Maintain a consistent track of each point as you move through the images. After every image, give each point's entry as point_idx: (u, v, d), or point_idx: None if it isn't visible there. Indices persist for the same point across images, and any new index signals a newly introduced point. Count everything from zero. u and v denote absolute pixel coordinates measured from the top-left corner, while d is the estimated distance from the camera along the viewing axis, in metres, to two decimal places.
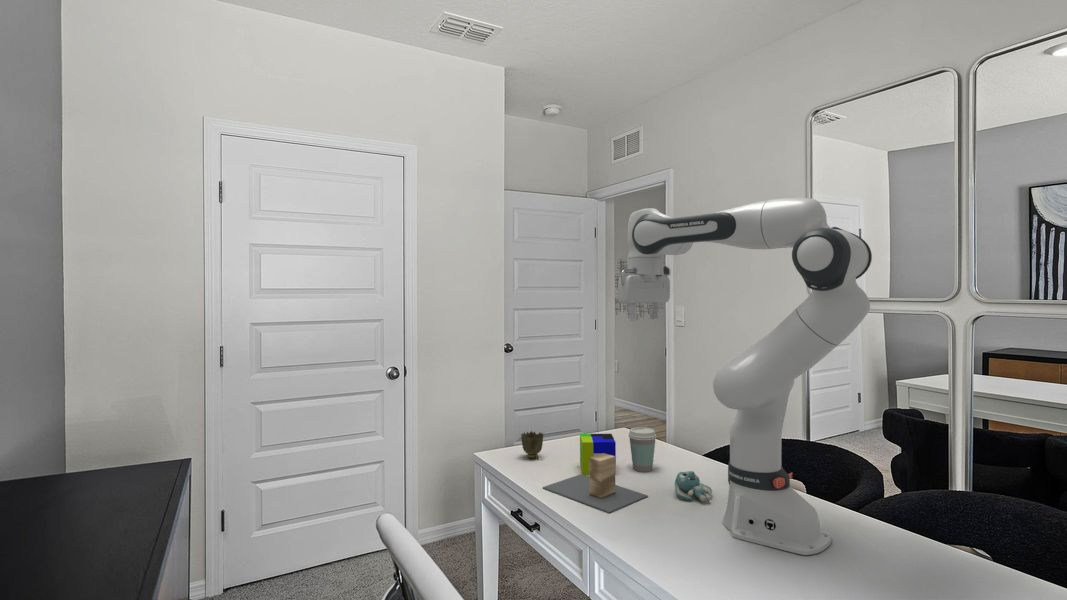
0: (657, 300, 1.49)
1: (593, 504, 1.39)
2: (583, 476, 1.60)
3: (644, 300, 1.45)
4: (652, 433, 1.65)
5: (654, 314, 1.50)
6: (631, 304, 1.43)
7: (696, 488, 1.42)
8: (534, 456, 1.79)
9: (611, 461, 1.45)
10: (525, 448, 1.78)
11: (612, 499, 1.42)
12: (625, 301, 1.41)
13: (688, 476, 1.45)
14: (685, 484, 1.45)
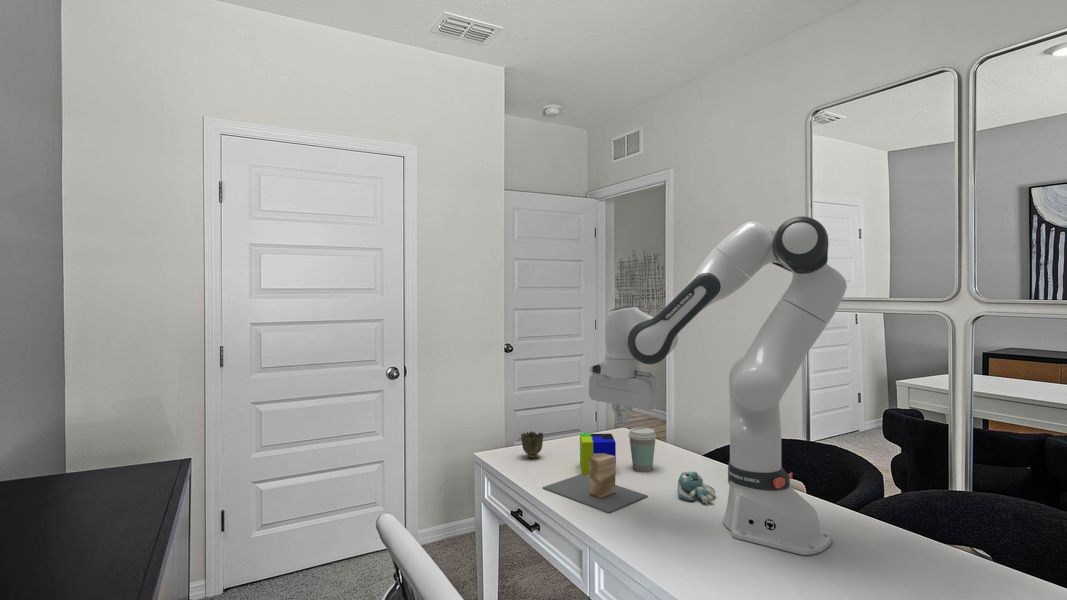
0: None
1: (593, 504, 1.39)
2: (583, 476, 1.60)
3: None
4: (652, 433, 1.65)
5: None
6: (630, 406, 1.39)
7: (698, 489, 1.42)
8: (534, 456, 1.79)
9: (611, 461, 1.45)
10: (525, 448, 1.78)
11: (612, 499, 1.42)
12: (655, 407, 1.34)
13: (691, 476, 1.45)
14: (688, 484, 1.44)
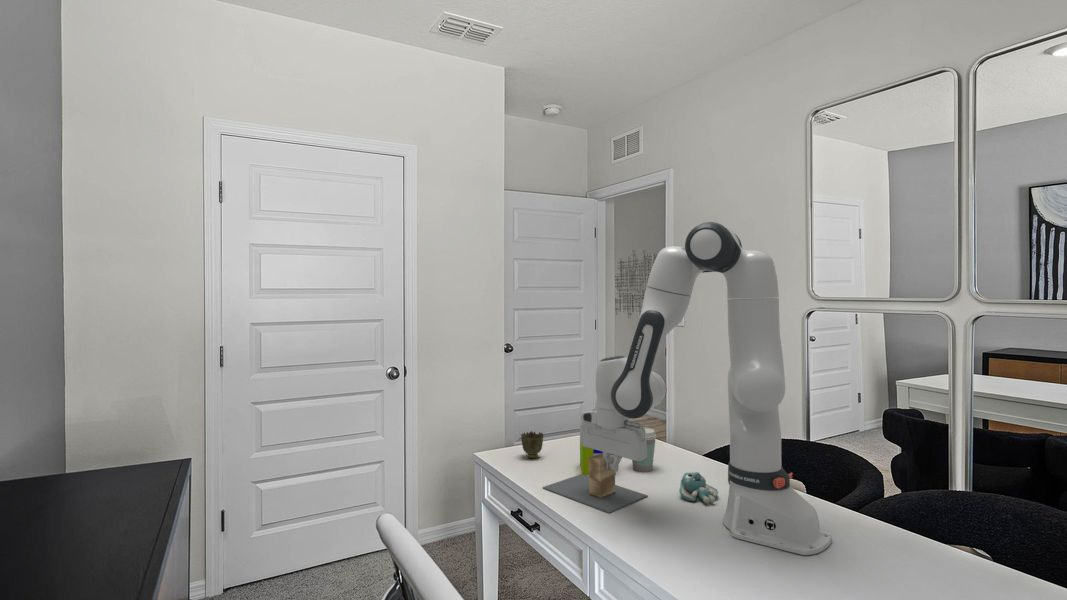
0: None
1: (593, 504, 1.39)
2: (583, 476, 1.60)
3: None
4: (652, 433, 1.65)
5: None
6: None
7: (700, 489, 1.42)
8: (534, 456, 1.79)
9: None
10: (525, 448, 1.78)
11: (612, 499, 1.42)
12: (645, 457, 1.36)
13: (693, 477, 1.44)
14: (690, 485, 1.44)
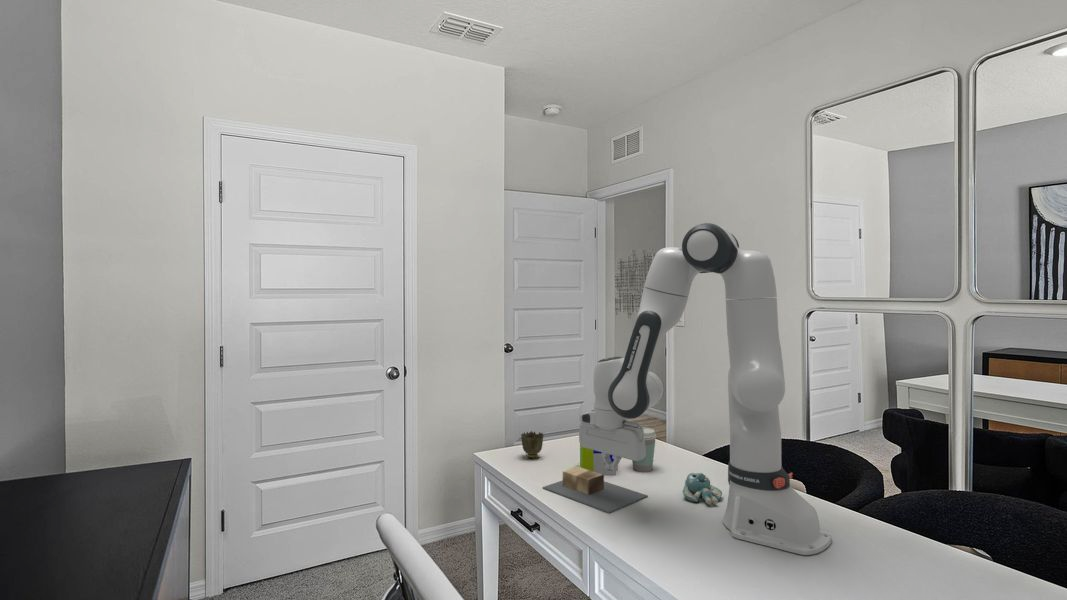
0: None
1: (593, 504, 1.39)
2: None
3: None
4: (652, 433, 1.65)
5: None
6: None
7: (703, 490, 1.41)
8: (534, 456, 1.79)
9: (576, 468, 1.55)
10: (525, 448, 1.78)
11: (612, 499, 1.42)
12: (643, 457, 1.37)
13: (697, 478, 1.44)
14: (693, 485, 1.44)
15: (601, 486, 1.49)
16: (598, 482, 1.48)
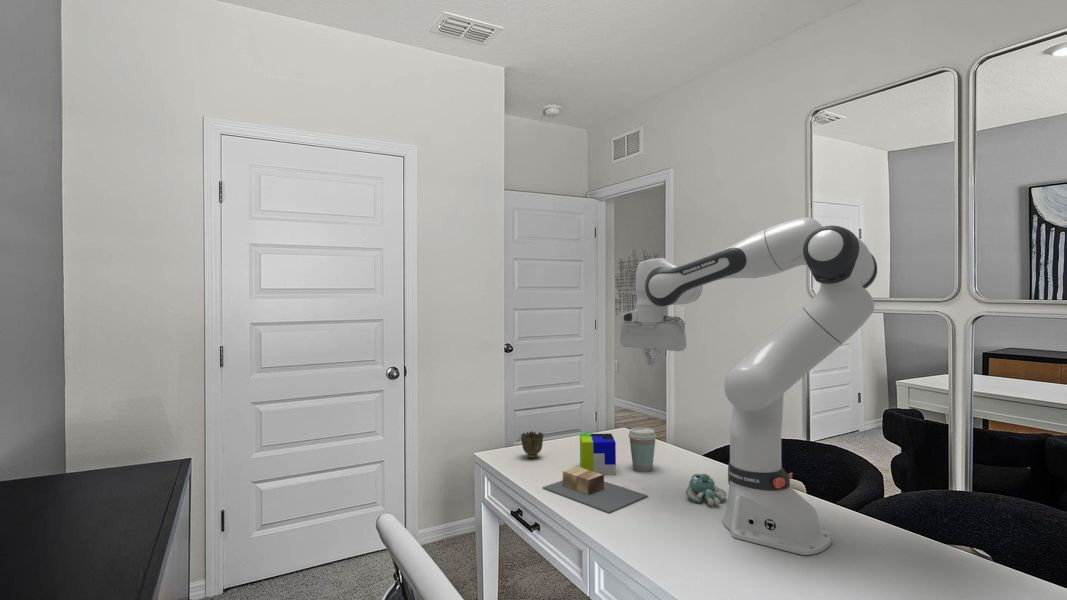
0: None
1: (593, 504, 1.39)
2: None
3: None
4: (652, 433, 1.65)
5: None
6: (660, 350, 1.51)
7: (706, 491, 1.40)
8: (534, 456, 1.79)
9: (576, 468, 1.55)
10: (525, 448, 1.78)
11: (612, 499, 1.42)
12: (684, 348, 1.46)
13: (700, 478, 1.43)
14: (697, 486, 1.43)
15: (601, 486, 1.49)
16: (598, 482, 1.48)
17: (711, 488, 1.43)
